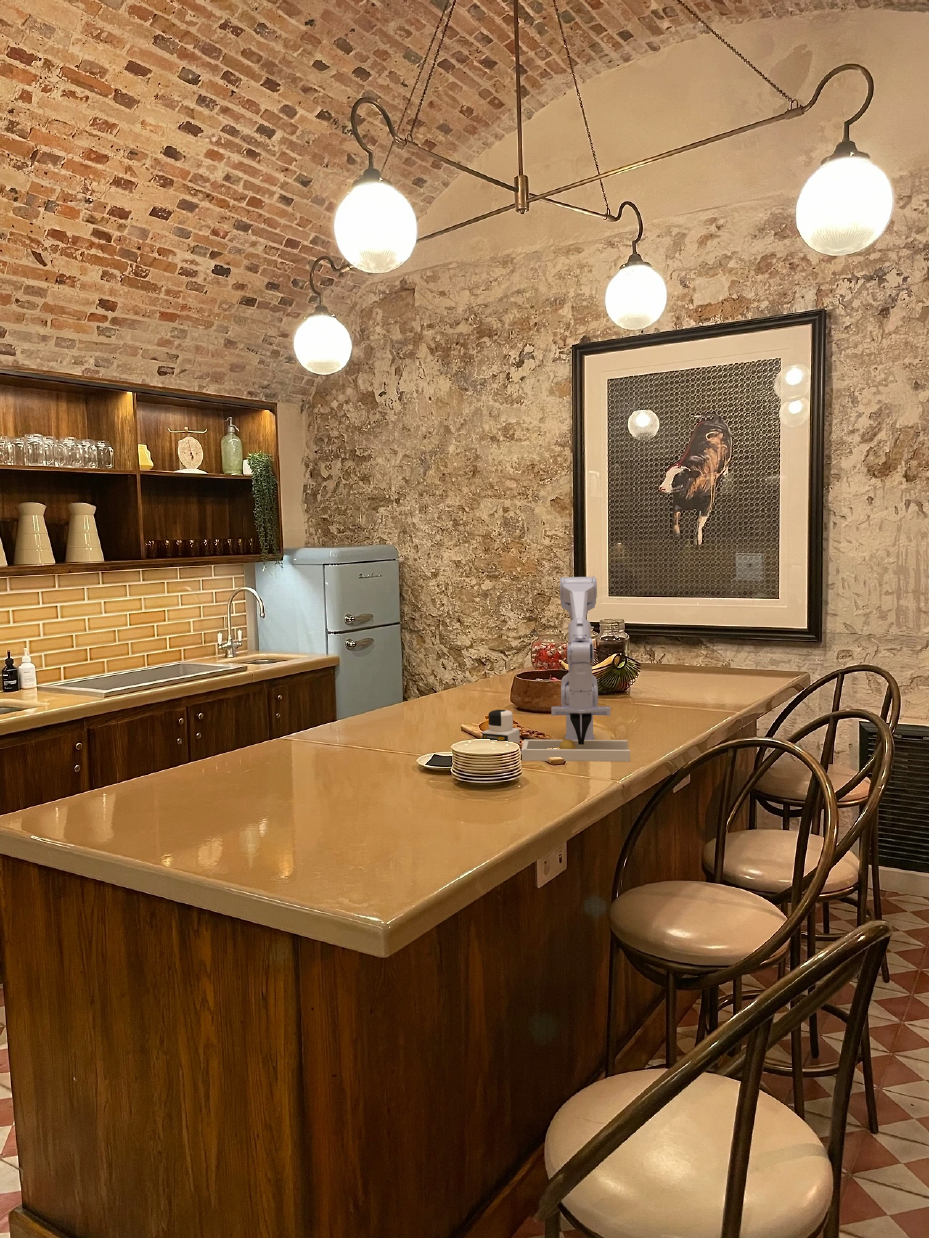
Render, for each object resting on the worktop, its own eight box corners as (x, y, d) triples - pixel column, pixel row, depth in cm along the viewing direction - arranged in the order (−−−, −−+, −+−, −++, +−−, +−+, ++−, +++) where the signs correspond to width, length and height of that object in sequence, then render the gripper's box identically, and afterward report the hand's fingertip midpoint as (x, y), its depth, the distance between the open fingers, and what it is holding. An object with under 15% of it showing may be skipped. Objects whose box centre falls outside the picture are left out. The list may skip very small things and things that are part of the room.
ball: (570, 739, 240) (579, 751, 238) (557, 748, 240) (566, 760, 238) (568, 733, 237) (577, 745, 235) (555, 742, 237) (564, 754, 234)
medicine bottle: (482, 759, 236) (481, 712, 235) (494, 753, 242) (493, 707, 241) (508, 762, 233) (507, 714, 232) (520, 756, 239) (519, 709, 238)
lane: (524, 750, 245) (524, 739, 244) (627, 751, 241) (627, 740, 241) (521, 762, 233) (521, 750, 233) (630, 763, 230) (630, 750, 229)
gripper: (550, 692, 232) (551, 747, 234) (610, 692, 231) (611, 747, 232) (551, 687, 239) (552, 740, 241) (609, 687, 238) (610, 741, 239)
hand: (581, 743), depth 237 cm, fingers closed
